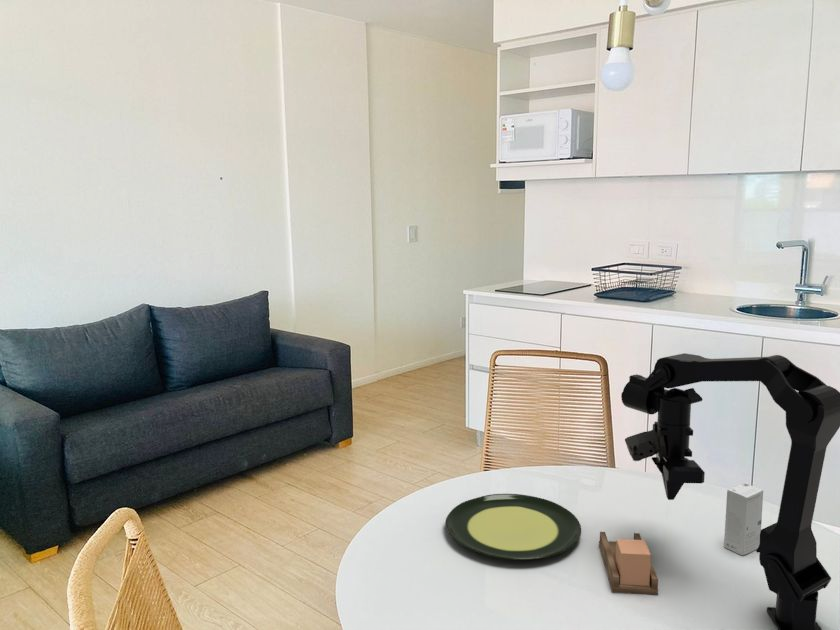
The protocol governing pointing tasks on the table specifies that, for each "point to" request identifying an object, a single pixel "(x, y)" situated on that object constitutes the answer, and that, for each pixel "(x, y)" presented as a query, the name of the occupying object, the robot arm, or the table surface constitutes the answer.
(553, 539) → the plate
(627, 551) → the block
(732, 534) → the skincare box
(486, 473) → the table surface
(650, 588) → the chute
